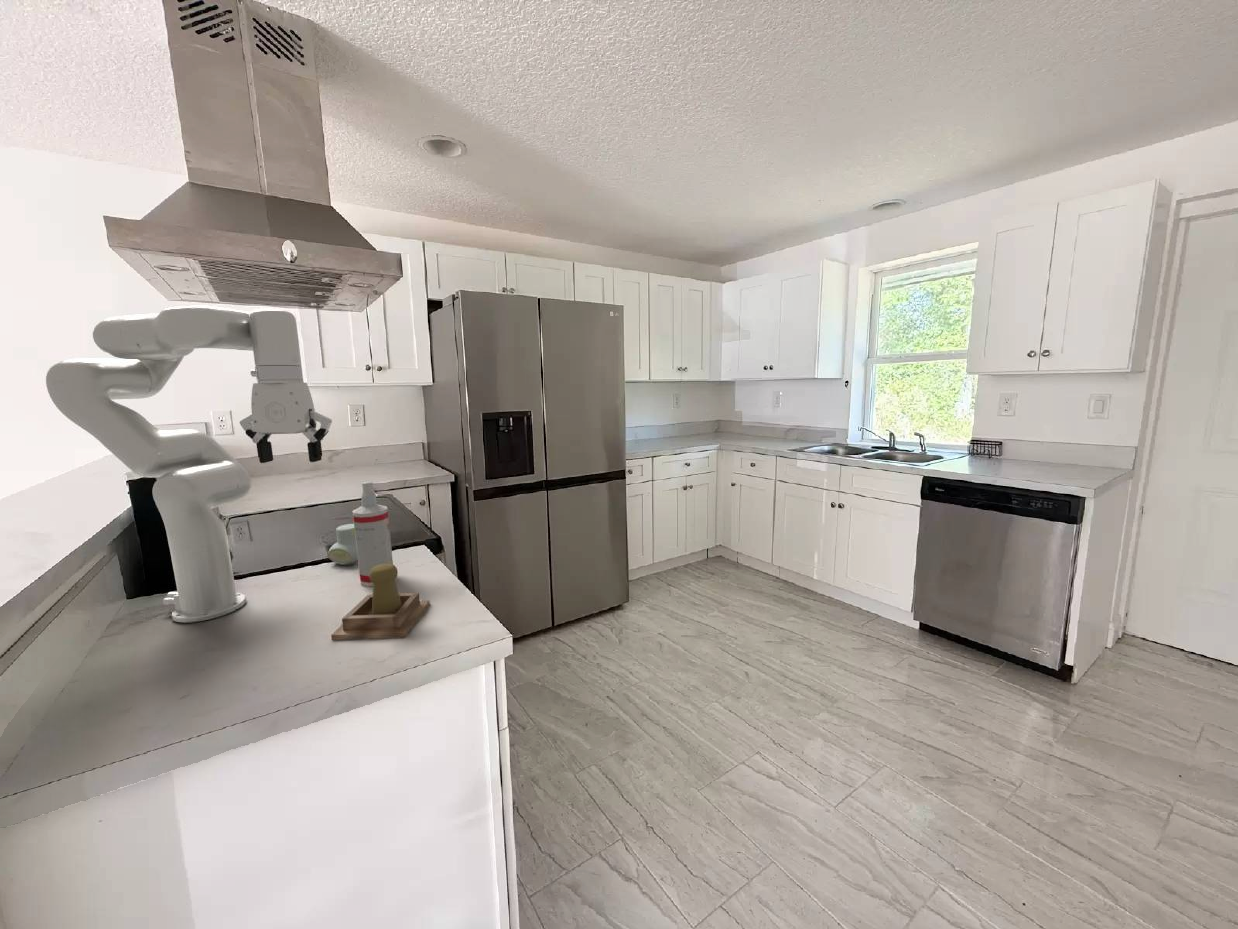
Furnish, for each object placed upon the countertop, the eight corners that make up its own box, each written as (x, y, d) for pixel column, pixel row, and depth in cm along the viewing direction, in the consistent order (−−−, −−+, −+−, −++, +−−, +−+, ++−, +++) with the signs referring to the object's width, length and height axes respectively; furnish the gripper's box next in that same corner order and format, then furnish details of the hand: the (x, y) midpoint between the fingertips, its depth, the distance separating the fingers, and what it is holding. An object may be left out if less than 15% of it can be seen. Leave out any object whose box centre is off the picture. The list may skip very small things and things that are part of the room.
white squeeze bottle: (353, 583, 121) (341, 484, 117) (378, 572, 128) (368, 478, 124) (376, 588, 118) (366, 486, 114) (401, 576, 125) (391, 480, 121)
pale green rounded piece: (323, 565, 134) (319, 530, 132) (347, 554, 142) (343, 521, 140) (357, 568, 131) (353, 532, 130) (379, 557, 139) (375, 523, 138)
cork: (392, 624, 98) (387, 572, 97) (365, 622, 99) (359, 570, 98) (409, 610, 104) (405, 560, 102) (383, 608, 105) (378, 559, 103)
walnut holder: (331, 639, 95) (329, 623, 94) (365, 606, 109) (363, 591, 108) (405, 637, 95) (403, 620, 95) (429, 604, 109) (428, 589, 109)
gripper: (220, 376, 93) (233, 465, 96) (314, 374, 93) (324, 464, 96) (248, 376, 100) (260, 459, 103) (335, 375, 101) (344, 457, 104)
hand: (291, 461), depth 100 cm, fingers open, 9 cm apart
